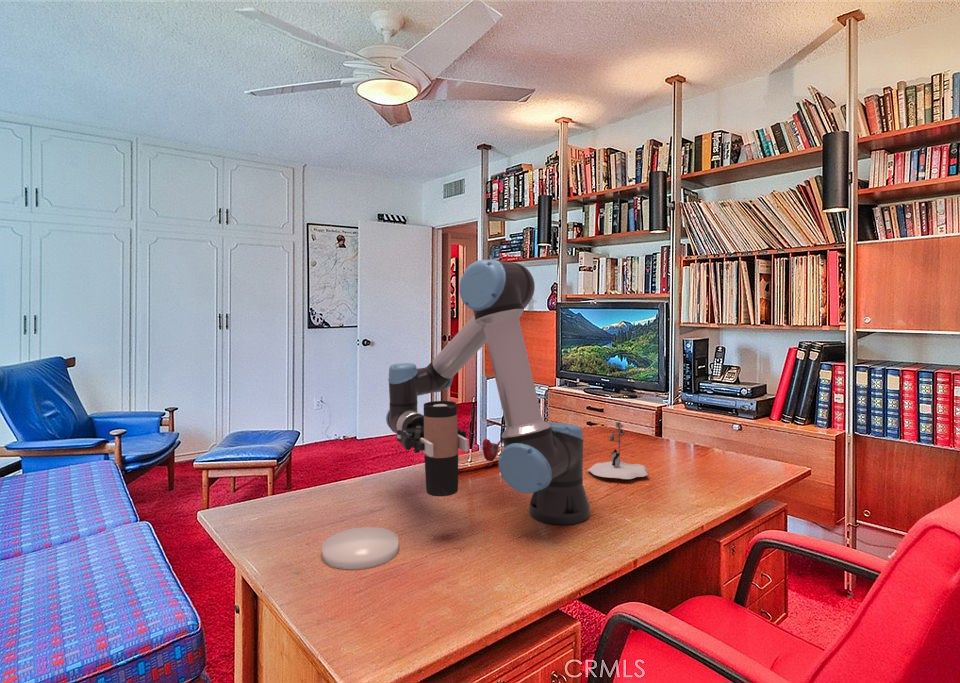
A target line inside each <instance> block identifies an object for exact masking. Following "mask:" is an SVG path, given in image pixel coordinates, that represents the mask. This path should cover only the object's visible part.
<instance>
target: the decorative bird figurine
mask: <svg viewBox="0 0 960 683" xmlns="http://www.w3.org/2000/svg"><path fill="white" fill-rule="evenodd" d="M502 442H503V440H502V439H500V440H499V441H498V442H497V443H496V442H495V443H494V442H491V441H490V439H488V438H484V440H483V441H482V452H483V456H484V459H485V460H486V461H488V462H490V463H489V464H488V467H492V465H493V464H494V462H491V461H494V460H495V459H496V457H497V455H498V452H499V446H500V445H501V443H502Z"/></svg>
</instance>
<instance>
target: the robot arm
mask: <svg viewBox="0 0 960 683" xmlns="http://www.w3.org/2000/svg"><path fill="white" fill-rule="evenodd" d="M534 294H535V281H534V276H533V275H532V273H531V272H530V270H529V269H528V268H526V267H525V266H524V265H522V264H521V263H517V262H509V261H502V260H496V259H493V258H492V259H491V258H489V259H480V260H476V261H474V262H473V263H471V264H470V265H468V266H467V267H466V268H465V270H464V273H463V274H462V276H461V278H460V281H459V295H460V298H461V301H462V303H463V304H464V305H465V306H467V308H469V309H471V310H472V311H473V316H472V317H470V319H469V320H468V321H467V322H466V323H465V324H464V326H462V328H461V329H459V331H458V332H457V333H456V334H455V335H454V336H453V338H452V339H451V340H450V341H449V342H448V343H447V344H446V345H445V346H444V348H443V349H441V351H440V352H439V353H438V354H437V355H436V356H435V357H434V358H433V360H431V361H430V363H429V364H428V365H427V366H425V367H420V368H417V364H415V363H411V362H409V363H408V362H401V363H392V364H391V365H389V369H388V378H387V380H388V381H387V382H388V392H389V409H388V411H387V413H386V416H385V421H386V425H387V426H388V428H390V430H391V432H393V433H394V434H396V442H398V443H401V445H402V447H404V449H405V450H406V451H410V450H412V448H413V452H414V454H415V453H416V454H418V453H420V451H421V452H423V454H424V453H425V454H427V455H428V456H430V457H433V443H431V442H429V441H428V440H426V439H424V414H422V413H420V412H418V404H419V403H418V396H422V395H427V394H432V393H439V392H442V391H445V390H447V389H449V388H450V387H451V386H452V383H453V380H454V376H455V375H456V374H457V373H458V372H459V371H460V370H461V369H462V368H463V367H464V366H465V365H466V364H467V363H468V362H469V361H470V360H471V359H472V358H473V357H474V355H476V354H477V353H478V352H479V351H480V349H482V347H484V345H486V344H487V348H488V353H489V358H490V362H491V366H492V370H493V374H494V379H495V383H496V384H495V385H496V387H497V392H498V396H499V402H500V405H501V410H502V414H503V418H504V423H505V429H504V431H503V433H502V434H501V440H502V444H503V449H502V450H501V452H500V455H499V456H498V470H499V473H500V475H501V478H502V479H503V480H504V482H505V483H506V484H507V485H508V486H509V487H511V488H512V489H513V490H514V491H516V492H519V493H522V494H531V497H530V501H529V509H528V510H529V515H530V517H532V518H533V519H535V520H536V521H539V522H541V523H542V522H543V523H545V524H550V525H561V526H562V525H564V526H565V525H568V526H569V525H576V524H579V523H583V522H585V521H587V520H588V519H589V518H590V517H591V516H590V515H591V511H590V510H591V506H590V502H589V499H588V497H587V494H586V489H585V486H584V483H583V482H584V474H583V473H584V440H585V439H584V436H583V434H584V432H583V429H582V427H581V426H579V425H577V424H575V423H574V424H572V423H567V422H558V421H557V422H556V421H555V422H554V421H545V420H544V419H543V416H542V411H541V408H540V403H539V399H538V395H537V391H536V386H535V383H534V377H533V374H532V370H531V366H530V360H529V355H528V352H527V348H526V343H525V339H524V335H523V331H522V326H521V322H520V318H521V316H522V315H523V314H524V311H525V308H526V307H527V306H528V305H529V304H530V302H531V301H532V299H533V296H534ZM458 450H461V451H463V452H465V453H466V452H467V453H468V452H469V438H467V431H464V430H462V429H458Z"/></svg>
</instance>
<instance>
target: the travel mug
mask: <svg viewBox="0 0 960 683" xmlns="http://www.w3.org/2000/svg"><path fill="white" fill-rule="evenodd" d="M423 415H424V439H426V440H428V441H429V442H431V443H433V457H430V456H428V455H427V454H425V453H424V452H423V454H424V456H423V457H424V458H423V459H424V472H425V488H426V493H427V494H428V495H429V496H432V497H449V496H453V495H455V494H457V493H458V490H459V448H458V404H457V402H455V401H451V400H434V401H428V402H425V403H423Z"/></svg>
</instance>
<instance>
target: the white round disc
mask: <svg viewBox="0 0 960 683" xmlns="http://www.w3.org/2000/svg"><path fill="white" fill-rule="evenodd" d="M399 549H400V548H399V537H398V535H397V534H396V533H395V532H394V531H392V530H390V529H387V528H382V527H378V526H377V527H376V526H375V527H374V526H364V527H353V528H349V529H345V530H343V531H339V532H337V533H334V534H333V535H331V536H329V537H328V538H326V539H325V540H324V542H323V544H322V547H321V553H322V554H321V555H322V557H321V558H322V560H323V562H324V563H325V564H326V565H328V566H330V567H332V568H335V569H339V570H348V571H349V570H351V571H353V570H355V571H357V570H364V569H370V568H374V567H378V566H381V565H383V564H385V563H387V562H389V561H391V560H393V558H394V557H395V556H396V555H397V554H398V553H399Z"/></svg>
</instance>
